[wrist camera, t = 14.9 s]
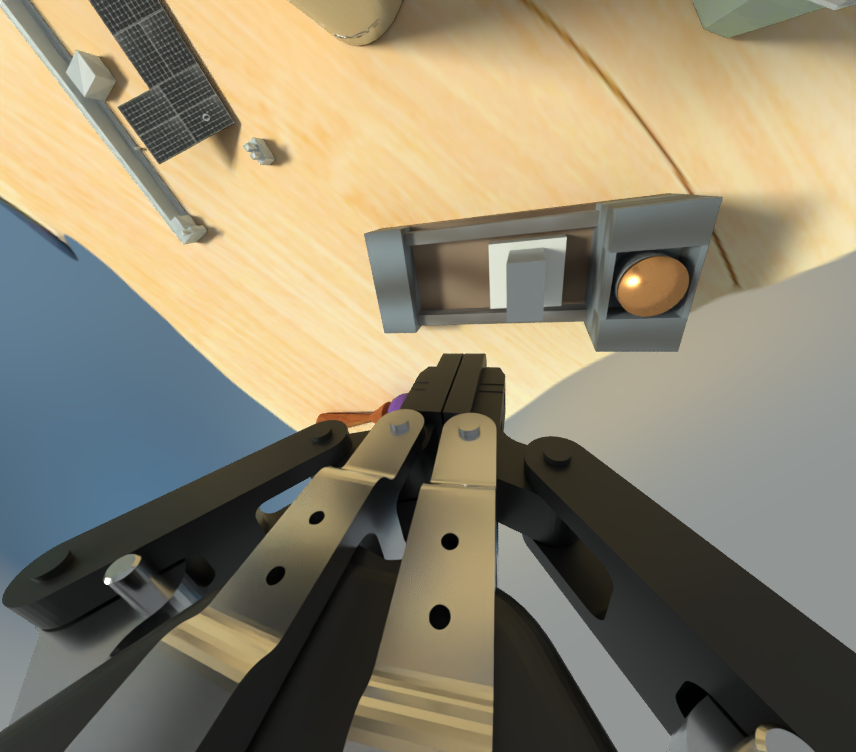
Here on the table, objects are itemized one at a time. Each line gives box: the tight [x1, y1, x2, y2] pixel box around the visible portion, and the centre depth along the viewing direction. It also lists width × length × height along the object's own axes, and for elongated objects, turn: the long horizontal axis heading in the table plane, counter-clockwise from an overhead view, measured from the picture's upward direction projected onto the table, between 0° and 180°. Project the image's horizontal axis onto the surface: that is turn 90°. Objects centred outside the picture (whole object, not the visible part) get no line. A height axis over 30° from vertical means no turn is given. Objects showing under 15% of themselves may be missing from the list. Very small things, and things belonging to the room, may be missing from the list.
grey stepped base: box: [364, 193, 722, 352], centre depth 31 cm, size 11×28×10 cm, turn 97°
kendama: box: [316, 393, 408, 428], centre depth 49 cm, size 6×6×20 cm
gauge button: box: [611, 250, 689, 317], centre depth 25 cm, size 4×4×4 cm
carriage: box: [489, 234, 567, 322], centre depth 29 cm, size 6×7×8 cm
